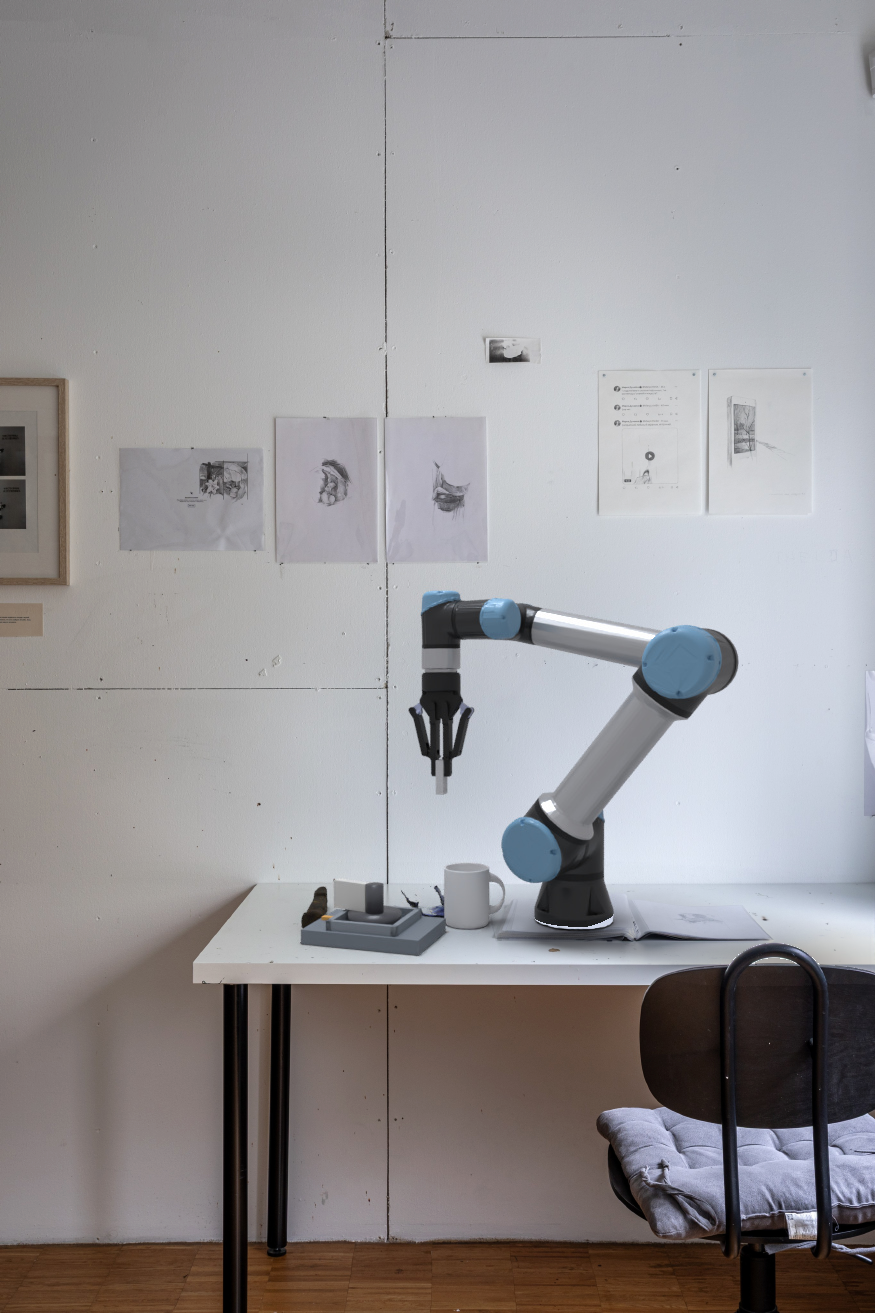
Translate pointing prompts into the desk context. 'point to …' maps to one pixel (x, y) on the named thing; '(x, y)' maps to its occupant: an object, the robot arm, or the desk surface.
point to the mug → (469, 895)
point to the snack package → (435, 910)
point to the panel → (376, 932)
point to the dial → (364, 902)
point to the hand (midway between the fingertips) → (441, 793)
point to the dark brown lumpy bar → (316, 907)
